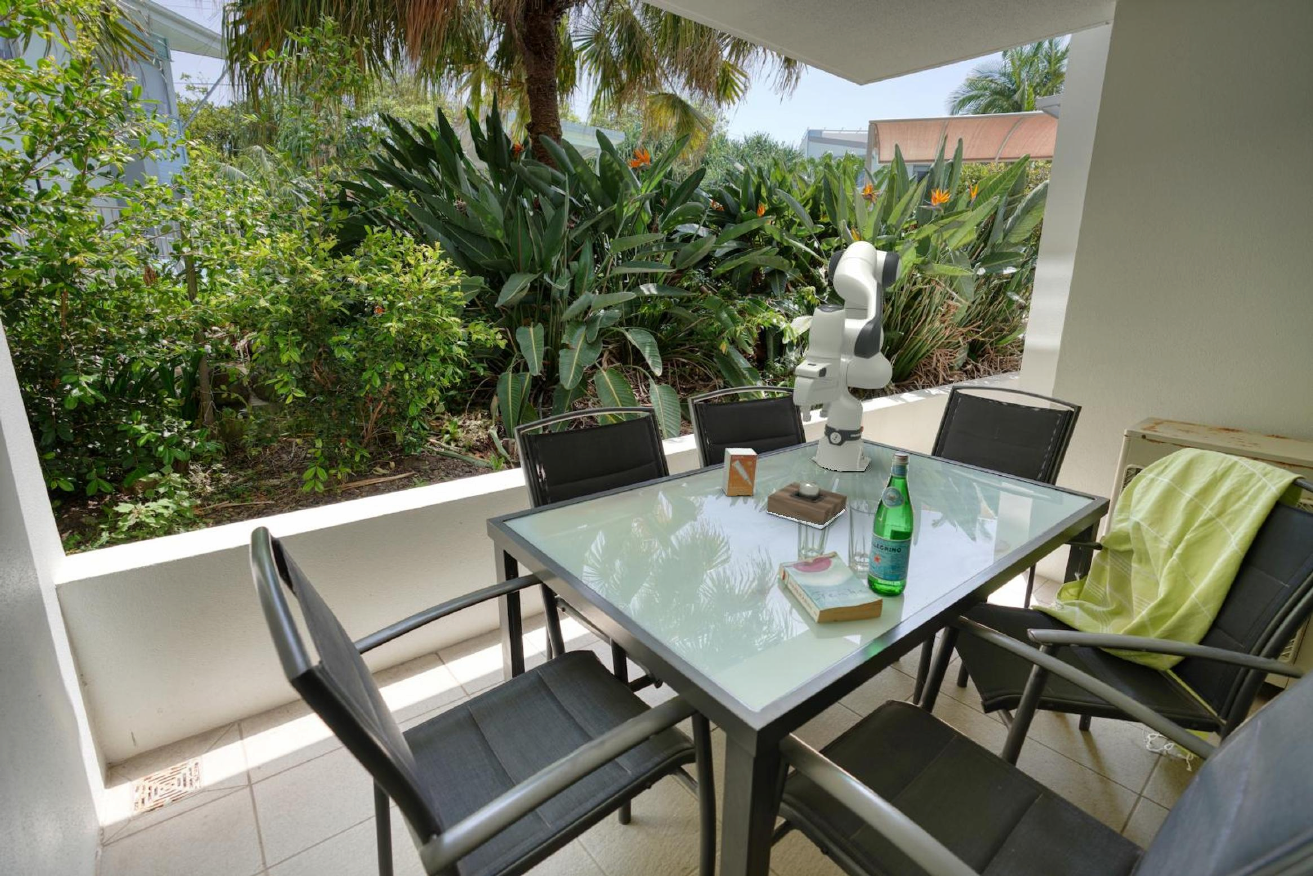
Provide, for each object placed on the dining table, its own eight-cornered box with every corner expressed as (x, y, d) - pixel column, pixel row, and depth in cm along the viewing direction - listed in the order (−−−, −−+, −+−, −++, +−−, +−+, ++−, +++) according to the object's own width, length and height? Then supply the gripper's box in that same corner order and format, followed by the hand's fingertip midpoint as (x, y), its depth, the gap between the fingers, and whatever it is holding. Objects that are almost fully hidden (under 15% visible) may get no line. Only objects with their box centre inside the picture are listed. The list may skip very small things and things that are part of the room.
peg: (803, 494, 173) (805, 479, 171) (820, 499, 170) (822, 483, 169) (795, 499, 169) (797, 483, 168) (812, 504, 166) (814, 488, 165)
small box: (726, 496, 180) (730, 454, 176) (721, 489, 186) (724, 447, 182) (753, 496, 181) (757, 454, 177) (747, 488, 187) (751, 447, 183)
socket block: (792, 497, 181) (794, 481, 180) (844, 512, 172) (847, 495, 171) (766, 513, 169) (768, 495, 167) (821, 530, 160) (824, 511, 158)
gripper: (829, 364, 170) (822, 413, 174) (791, 368, 156) (785, 421, 159) (850, 367, 166) (843, 417, 170) (814, 371, 151) (807, 426, 155)
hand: (815, 419), depth 164 cm, fingers open, 8 cm apart
